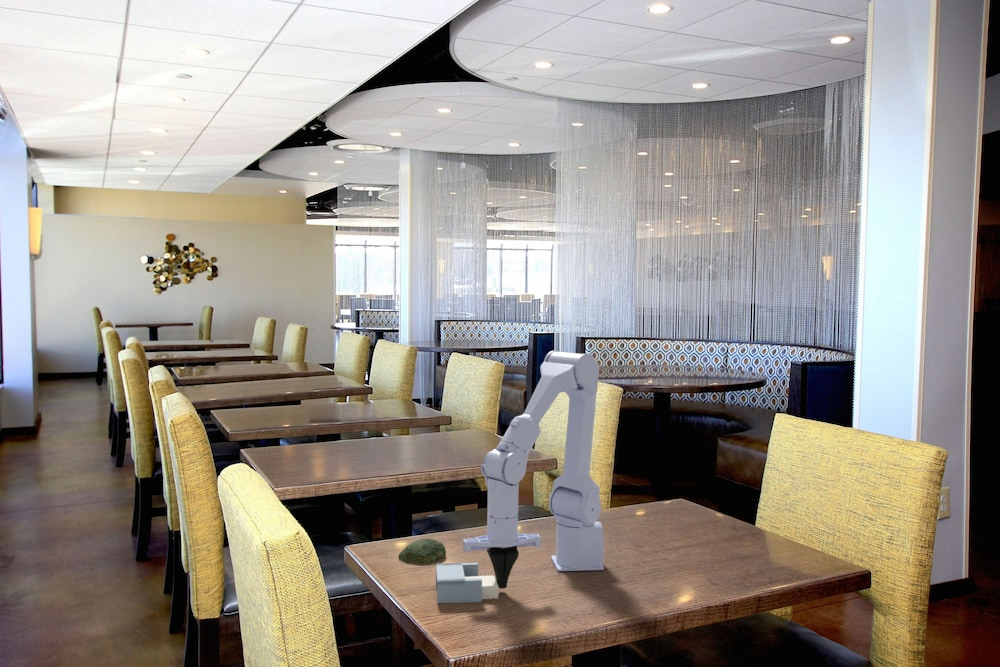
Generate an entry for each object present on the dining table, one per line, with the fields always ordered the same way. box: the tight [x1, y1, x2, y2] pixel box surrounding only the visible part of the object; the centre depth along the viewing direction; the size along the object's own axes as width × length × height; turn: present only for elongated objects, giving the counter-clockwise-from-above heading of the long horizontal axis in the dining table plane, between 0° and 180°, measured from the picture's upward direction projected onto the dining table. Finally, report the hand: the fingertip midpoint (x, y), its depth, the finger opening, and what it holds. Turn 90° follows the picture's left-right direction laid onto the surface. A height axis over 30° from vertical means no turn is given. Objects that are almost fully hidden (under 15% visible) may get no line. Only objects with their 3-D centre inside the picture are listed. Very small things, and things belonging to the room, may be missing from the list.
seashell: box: [398, 538, 447, 565], centre depth 163 cm, size 10×4×10 cm
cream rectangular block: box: [465, 575, 499, 600], centre depth 143 cm, size 8×5×3 cm, turn 100°
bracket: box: [435, 562, 483, 604], centre depth 144 cm, size 8×9×4 cm
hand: (501, 586), depth 145 cm, fingers closed
